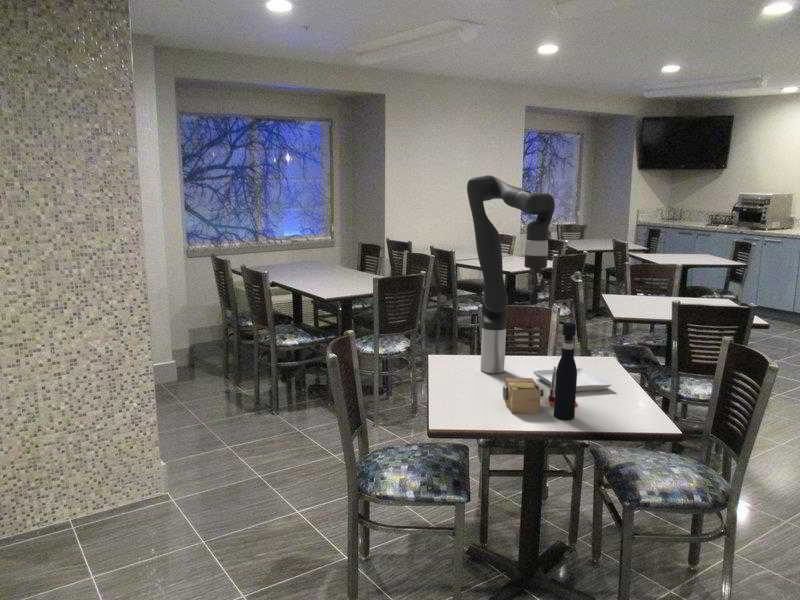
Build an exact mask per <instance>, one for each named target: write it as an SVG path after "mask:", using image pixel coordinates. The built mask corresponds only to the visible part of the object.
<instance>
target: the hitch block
mask: <svg viewBox="0 0 800 600" xmlns="http://www.w3.org/2000/svg"><path fill="white" fill-rule="evenodd" d="M515 383H528V384H533V385H534V388H519V387H517V386H516V385H515ZM504 386H507V387H508V399H507V400H504V399H503V400H504V402H505V404H506V406H507V408H508V410H509V411H510V413H511V414H540V411H541V410H540V409H541V397H540V396H541V389H542V388H541V387H539V385H538V384H537V382H536V381H535V380H534V379H533V378H532V377H505V381H504Z"/></svg>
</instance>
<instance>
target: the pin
mask: <svg viewBox="0 0 800 600" xmlns="http://www.w3.org/2000/svg"><path fill="white" fill-rule="evenodd" d="M540 389H541V396H540V398H541V397H544V394H545V393H544V392H545V391H544V389H543V388H540ZM502 399H503V400H507V399H508V387H507V386H505V385H503V386H502Z"/></svg>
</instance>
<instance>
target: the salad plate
mask: <svg viewBox="0 0 800 600" xmlns="http://www.w3.org/2000/svg"><path fill="white" fill-rule="evenodd" d="M576 368H577V367H576ZM556 370H557V368H556ZM553 371H554V368H553V369H540V370H534V371H532V372H533V374H534V375H535V376H536V377H537V378H539V379H540V380H542V381H543V382H544V383H546V384H548V386H551V383H552V374H553ZM555 381H556V380H555ZM611 386H612V383H611V382H609V381H607V380H605V379H604V378H602V377H600V376H598V375H597V374H594V373H592V372H590V371H589V370H587V369H584V368H582V367H579V368H577V385H576V393H577V392H589V391H590V392H591V391H599V390H605V389H608V388H610V387H611Z"/></svg>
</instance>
